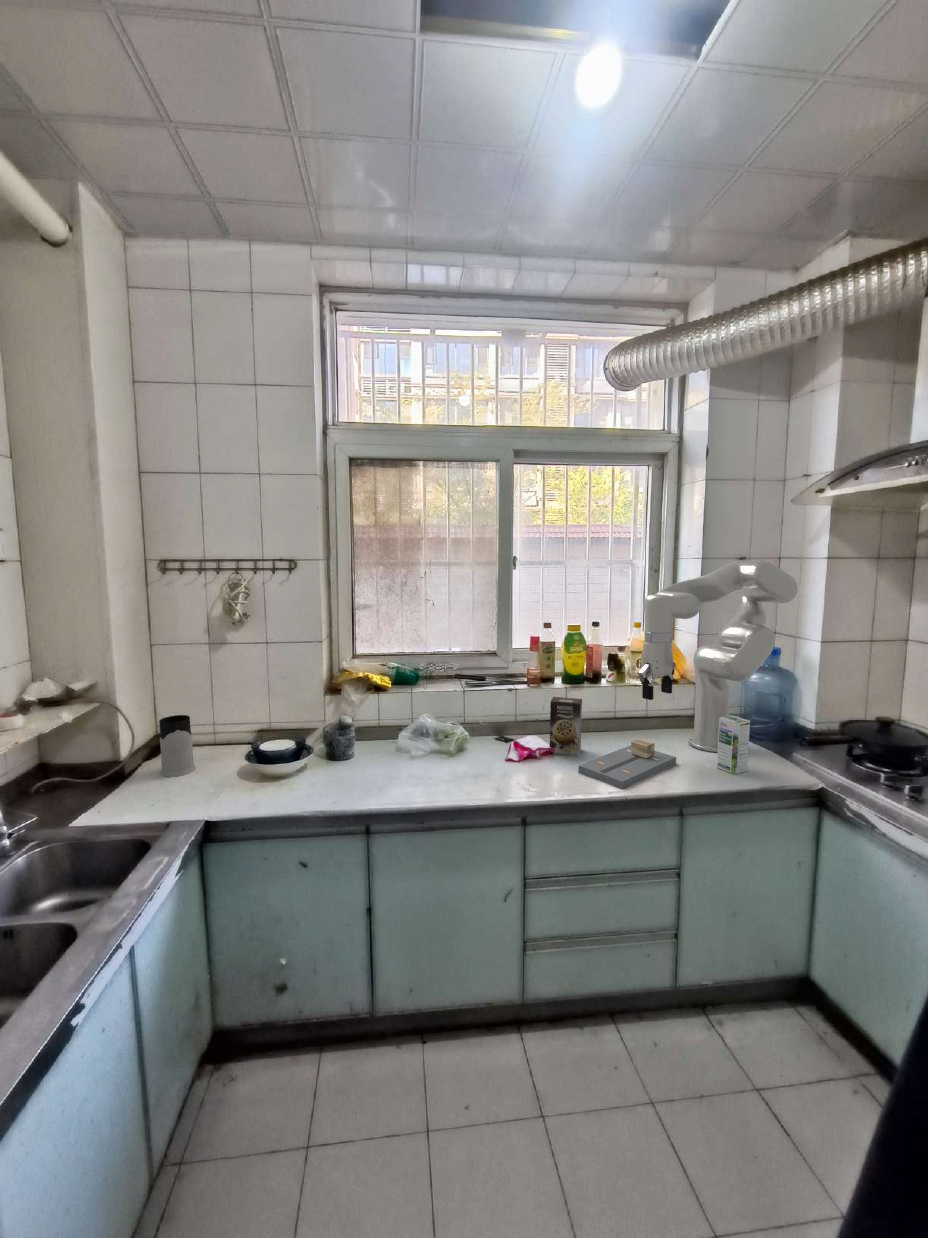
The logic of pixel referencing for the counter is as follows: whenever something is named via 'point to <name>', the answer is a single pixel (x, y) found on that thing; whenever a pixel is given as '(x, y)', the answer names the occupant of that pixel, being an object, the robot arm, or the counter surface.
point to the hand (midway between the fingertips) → (657, 695)
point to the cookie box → (565, 725)
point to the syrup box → (733, 744)
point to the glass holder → (176, 746)
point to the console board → (625, 767)
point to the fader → (642, 748)
